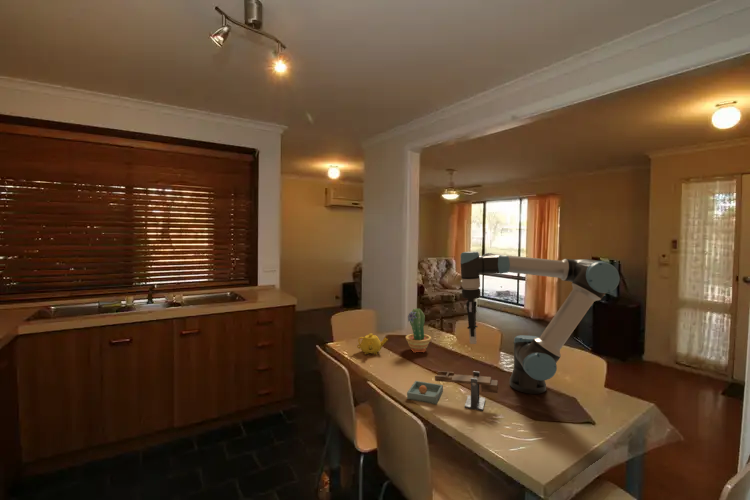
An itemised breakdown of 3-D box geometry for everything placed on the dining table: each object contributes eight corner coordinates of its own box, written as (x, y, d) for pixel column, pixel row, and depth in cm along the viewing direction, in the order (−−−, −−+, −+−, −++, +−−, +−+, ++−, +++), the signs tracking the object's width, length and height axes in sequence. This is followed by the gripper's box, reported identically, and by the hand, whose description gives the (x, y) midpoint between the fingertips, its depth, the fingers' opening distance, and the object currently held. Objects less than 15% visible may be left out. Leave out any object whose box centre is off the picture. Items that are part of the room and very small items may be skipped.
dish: (442, 391, 154) (442, 385, 154) (436, 404, 142) (436, 397, 142) (415, 386, 159) (415, 380, 159) (407, 398, 147) (407, 392, 147)
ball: (426, 393, 152) (428, 385, 151) (424, 396, 149) (426, 389, 148) (419, 390, 153) (421, 382, 153) (417, 393, 150) (418, 386, 150)
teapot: (370, 358, 195) (370, 339, 194) (354, 353, 204) (354, 334, 204) (388, 352, 205) (388, 333, 204) (372, 347, 214) (372, 329, 214)
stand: (485, 399, 146) (485, 371, 145) (482, 411, 136) (482, 381, 136) (468, 396, 148) (468, 369, 148) (464, 407, 139) (464, 378, 138)
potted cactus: (403, 346, 215) (403, 306, 213) (427, 345, 216) (427, 305, 215) (408, 355, 199) (408, 312, 198) (434, 354, 201) (434, 311, 200)
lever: (498, 387, 141) (497, 374, 141) (497, 393, 136) (496, 380, 136) (438, 382, 151) (437, 370, 151) (435, 388, 145) (434, 375, 145)
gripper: (463, 285, 154) (465, 338, 155) (459, 290, 142) (462, 347, 143) (481, 285, 151) (483, 339, 152) (479, 290, 139) (481, 348, 140)
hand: (473, 343), depth 148 cm, fingers closed
